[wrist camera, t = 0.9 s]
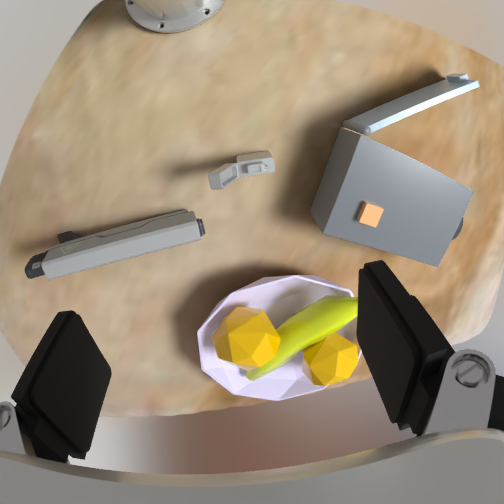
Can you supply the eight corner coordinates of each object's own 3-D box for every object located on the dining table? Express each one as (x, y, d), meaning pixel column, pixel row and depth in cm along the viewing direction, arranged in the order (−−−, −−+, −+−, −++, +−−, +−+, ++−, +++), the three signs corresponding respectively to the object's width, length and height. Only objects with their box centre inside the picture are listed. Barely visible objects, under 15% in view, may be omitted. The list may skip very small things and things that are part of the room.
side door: (338, 117, 36) (358, 122, 30) (446, 73, 32) (475, 74, 26) (344, 129, 36) (364, 136, 30) (450, 84, 33) (479, 87, 27)
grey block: (340, 127, 36) (363, 136, 30) (452, 179, 40) (483, 197, 33) (309, 211, 42) (324, 236, 35) (422, 246, 46) (447, 272, 39)
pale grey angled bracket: (269, 150, 38) (278, 164, 31) (271, 163, 38) (280, 180, 31) (212, 159, 38) (207, 175, 31) (214, 172, 39) (210, 191, 32)
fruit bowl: (260, 392, 60) (265, 439, 50) (166, 309, 48) (153, 362, 38) (386, 327, 53) (410, 371, 43) (322, 211, 42) (349, 251, 32)
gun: (38, 239, 40) (16, 271, 31) (193, 196, 44) (203, 220, 36) (44, 254, 41) (24, 288, 32) (196, 212, 46) (207, 239, 37)
